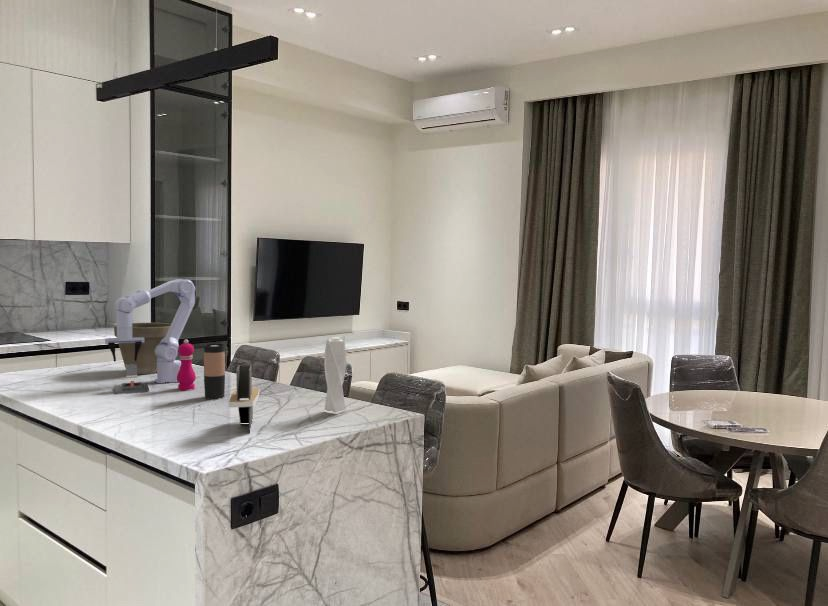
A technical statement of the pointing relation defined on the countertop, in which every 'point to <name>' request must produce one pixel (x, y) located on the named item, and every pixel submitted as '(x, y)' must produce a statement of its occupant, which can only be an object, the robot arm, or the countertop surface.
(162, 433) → the countertop surface
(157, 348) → the robot arm
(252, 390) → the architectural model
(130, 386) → the stand base
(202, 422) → the countertop surface
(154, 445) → the countertop surface
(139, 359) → the plant pot
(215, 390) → the travel mug
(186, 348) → the pepper mill
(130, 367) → the brushed metal block
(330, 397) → the skyscraper
